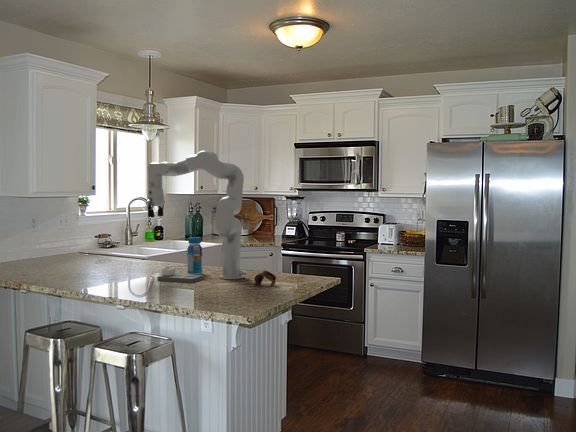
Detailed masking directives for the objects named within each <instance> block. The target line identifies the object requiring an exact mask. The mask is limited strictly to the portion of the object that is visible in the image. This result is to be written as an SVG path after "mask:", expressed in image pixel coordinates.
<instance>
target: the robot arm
mask: <svg viewBox="0 0 576 432" xmlns="http://www.w3.org/2000/svg"><path fill="white" fill-rule="evenodd" d="M197 171H205V172H206V173H208V174H210V175H211V176H212V177H214V178H216V179H219V180H227V182H228V183H227V185H226V191H225V196H224V197H222V198H220V199H219V201H218V202H217V205H216V210H215V220H214V221H215V222H214V229H215V232H216V234H217V235H218V236H220V237H222V243H221V244H222V245H221V247H222V248H221V249H222V250H221V251H222V253H221V254H222V256H221V257H222V258H221V260H222V261H221V262H222V265H221V266H222V268H221V273H222V274H220V275H219V278H220V279H223V280H238V279H239V280H240V279H243V278H244V276H248V273H249V272H248V271H246V270H243V268H241V266H242V265H241V247H242V246H241V245H242V244H241V240H242V239H241V238H242V231H243V226H242V222H241V220H240V219H238V218H237V217H234V216H235V215H238V214H240V212H241V210H242V203H243V194H244V193H243V192H244V191H243V190H244V181H245V180H244V177H245V176H244V173H243V171H242V170H241V168H240V167H239V166H237V165H236V164H233V163H230V162H222V161H221V160H220V159H219V156H218V154H217V153H215V152H214V151H208V150H200V151H199V152H198V153H196V154H192V155H188V156H186V157H185V159H184V160H181V161H176V162H169V161H162V162H149V163H148V165H147V186H148V188H147V200H146V201H145V204H146V210H147V217H148V218H154V216H155V215H154V213H155V211H154V207H157V217H164V209H165V207H164V206H165V202H166V201H165V195H164V187H163V177H178V176H182V175H187V174H190V173H194V172H197Z"/></svg>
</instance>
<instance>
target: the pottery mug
mask: <svg viewBox="0 0 576 432" xmlns="http://www.w3.org/2000/svg"><path fill="white" fill-rule="evenodd" d="M264 278H265V279H267V280H269V281H271V284H270V287H272V288H273V287H274V286H275V284H276V279H277V276H275V275H274V274H273V273H271V272H270V271H268V270H263V271H262V272H260V273H259V274H256V276H255V277H254V286H255V287H257V286H261V285H262V282H263V281H264Z"/></svg>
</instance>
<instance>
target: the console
mask: <svg viewBox="0 0 576 432" xmlns="http://www.w3.org/2000/svg"><path fill="white" fill-rule="evenodd" d="M204 279H205V275H204V274H198V275H195V274H188V273H176V272H175V274H173V275H159V276H157V281H158V282H171V283H172V282H173V283H174V282H176V283H189V284H190V283H191V284H193V283H197V282H199V281H201V280H204Z"/></svg>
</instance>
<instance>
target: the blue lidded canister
mask: <svg viewBox="0 0 576 432" xmlns="http://www.w3.org/2000/svg"><path fill="white" fill-rule="evenodd" d="M187 241H188V244H189V245H188V247H187V249H186V251H187V253H186V257H187V259H186V260H187V273H186V274H195V275H203V256H204V254H203V247H202V246H201V244H202V238H201V236H191V237H188V240H187Z"/></svg>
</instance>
